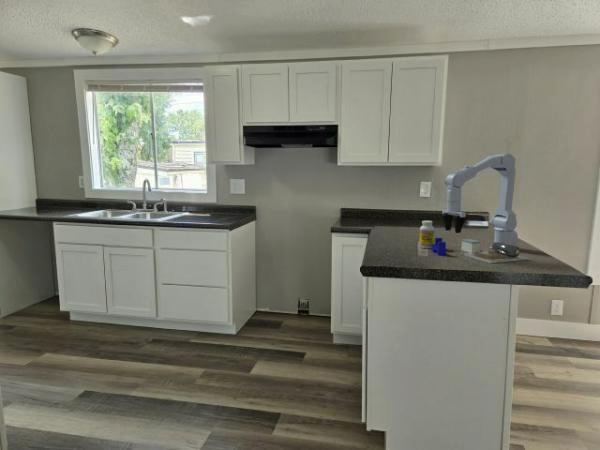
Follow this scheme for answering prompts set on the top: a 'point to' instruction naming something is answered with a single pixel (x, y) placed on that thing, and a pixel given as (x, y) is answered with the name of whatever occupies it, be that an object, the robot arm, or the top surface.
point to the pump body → (470, 245)
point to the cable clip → (439, 247)
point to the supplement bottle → (426, 235)
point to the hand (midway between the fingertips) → (452, 231)
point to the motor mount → (498, 254)
